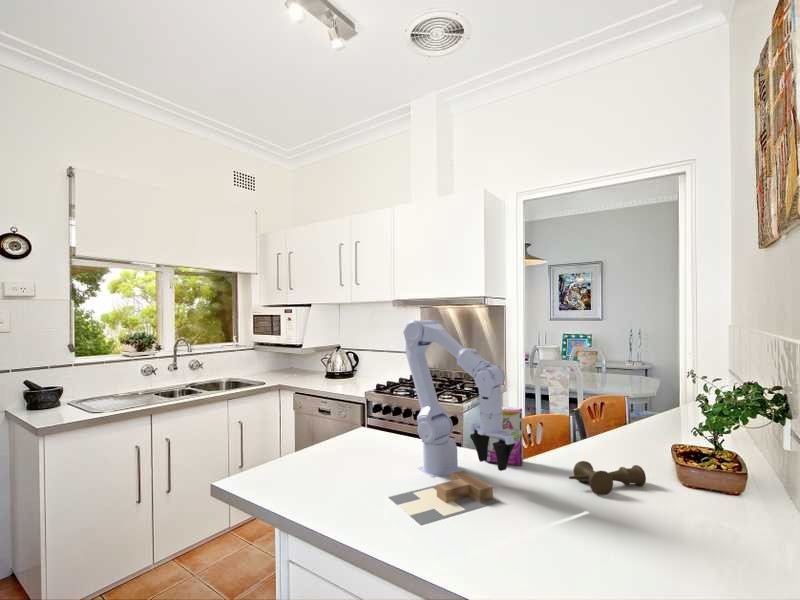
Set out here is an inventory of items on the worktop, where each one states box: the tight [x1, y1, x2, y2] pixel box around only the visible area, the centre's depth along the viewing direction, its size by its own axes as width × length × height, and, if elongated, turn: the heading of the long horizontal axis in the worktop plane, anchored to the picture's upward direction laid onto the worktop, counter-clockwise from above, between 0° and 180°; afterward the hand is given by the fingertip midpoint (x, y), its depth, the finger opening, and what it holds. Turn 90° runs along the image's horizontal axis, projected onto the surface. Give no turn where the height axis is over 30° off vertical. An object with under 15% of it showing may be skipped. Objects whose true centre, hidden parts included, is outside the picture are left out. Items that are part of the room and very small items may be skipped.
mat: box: [388, 484, 500, 526], centre depth 102 cm, size 22×16×1 cm
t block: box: [436, 470, 494, 503], centre depth 105 cm, size 11×12×3 cm
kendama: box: [568, 460, 647, 496], centre depth 110 cm, size 6×10×20 cm
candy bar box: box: [484, 406, 524, 467], centre depth 129 cm, size 11×5×16 cm, turn 71°
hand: (492, 465), depth 110 cm, fingers open, 7 cm apart
